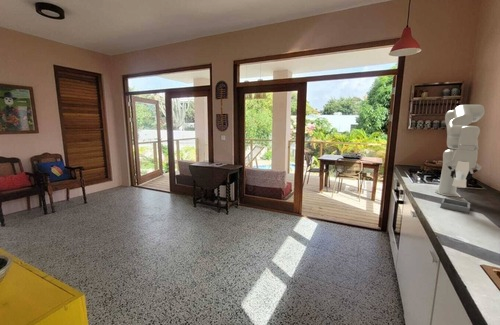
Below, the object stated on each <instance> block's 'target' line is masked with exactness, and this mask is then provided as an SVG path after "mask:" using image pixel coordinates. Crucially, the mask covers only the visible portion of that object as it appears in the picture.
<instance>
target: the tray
mask: <svg viewBox="0 0 500 325" xmlns="http://www.w3.org/2000/svg"><path fill="white" fill-rule="evenodd" d="M439 207H440V208H441V209H444V210H445V209H446V210H451V211H455V212H459V213H464V214H470V209H471V202H468V201H462V200H457V199H452V198H447V197H442V200H441V203H440V206H439Z"/></svg>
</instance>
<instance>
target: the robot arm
mask: <svg viewBox="0 0 500 325" xmlns="http://www.w3.org/2000/svg"><path fill="white" fill-rule="evenodd" d="M485 112H486V111H485V107H484V105H482V104H460V105H458V106H456V107H455V108H454V109H452V110H451V109H450V110H448V111H447V112H446V113H445V116H444V123H445V125H446V134H447V137H446V146H447V147H448V148H449V149H446V150H444V151H443V153H442V168H441V174H440V179H439V185H438V189H435V193H436V194H438V195H442V196H448V197H453V198H454V197H459V193H458V192H457V188H458V187H455V186H453V185H452V184H453V182H454V169H455V167H456V165H457V163H458V161H463V162H469V168H470V173H469V176H468V178H467V181H471V180H472V177H473V174H475V173H477V172H478V171H480V170H482V168H483V167H482V166H481V165H480V164H479V163H477V161H478V152H479V150H480V146H479V138H478V137H479V136H480V133H481V128H480V127H479V126H476V125H471V124H472V123H476V122H478V121H479V120H480V119H482V118H483V117H484V115H485Z"/></svg>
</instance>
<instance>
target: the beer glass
mask: <svg viewBox="0 0 500 325" xmlns="http://www.w3.org/2000/svg"><path fill="white" fill-rule="evenodd" d="M469 173H470V168H469V162H463V161H458V163H457V165H456V167H455V169H454V182H453V184H452V185H453V186H455V187H457V188H460V189H461V188H463V189H465V188H467V181H468V176H469Z"/></svg>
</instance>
